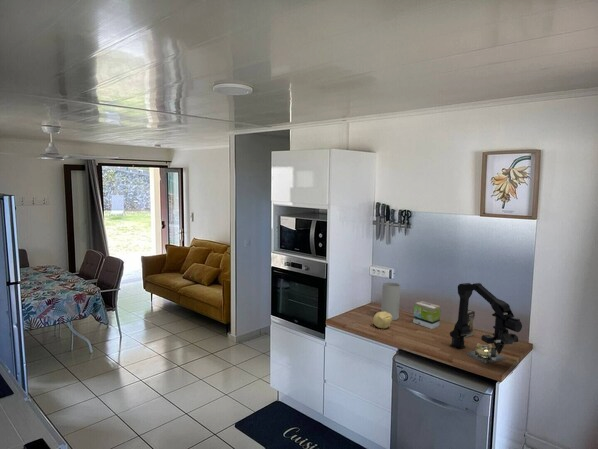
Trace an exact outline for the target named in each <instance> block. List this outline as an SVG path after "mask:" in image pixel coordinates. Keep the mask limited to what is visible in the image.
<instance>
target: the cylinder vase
mask: <svg viewBox="0 0 598 449" xmlns="http://www.w3.org/2000/svg"><path fill="white" fill-rule="evenodd" d="M381 292H382V293H381V309H380V310H381V311H380V312H384V311H385V312H387V313H390V314H391V315H392V322H393V321H397V320H399V319H400V318H399V315H400V301H401V300H400V299H401V297H400V296H401V284H399V283H397V282H390V281H388V282H383V283H382V290H381Z"/></svg>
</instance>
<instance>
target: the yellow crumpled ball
mask: <svg viewBox="0 0 598 449" xmlns="http://www.w3.org/2000/svg"><path fill="white" fill-rule="evenodd" d="M392 322H393V321H392V315H391V314H390V313H387V312H385V311H384V312H381V311H377V312H376V313H375V314H374V316H373V325H374V327H375V326H376V327H377V328H379V329H388V328H390V325H391V323H392Z"/></svg>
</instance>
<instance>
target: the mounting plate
mask: <svg viewBox="0 0 598 449" xmlns="http://www.w3.org/2000/svg"><path fill="white" fill-rule="evenodd" d="M466 355H467V356H469V357H470V358H473V359H475V360H477V361H479V362H481V363H483V364H484V365H488V364H492V363H496V362H497V363H498V362H500V361H503V360H504V361H505V357H506V356H503V355H501V354H498V353H497V355H496V360H491V358H484V357H480V356H478V355H477V354H476V353H475V350H471V351H467V353H466Z"/></svg>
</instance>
